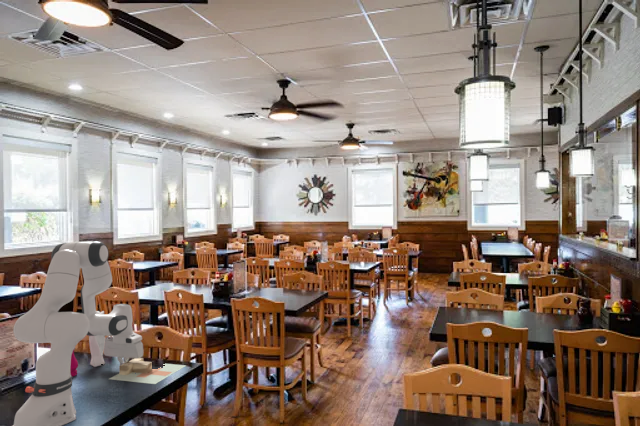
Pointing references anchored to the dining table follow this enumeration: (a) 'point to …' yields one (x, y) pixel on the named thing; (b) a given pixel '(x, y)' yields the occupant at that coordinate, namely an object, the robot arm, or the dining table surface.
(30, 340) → the robot arm
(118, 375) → the mat
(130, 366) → the T block
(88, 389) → the dining table surface
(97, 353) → the skyscraper
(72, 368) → the pepper mill
